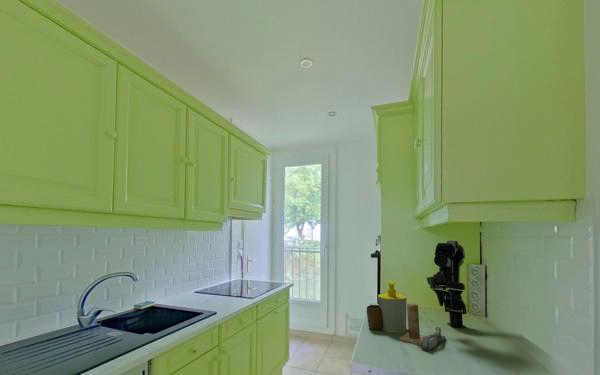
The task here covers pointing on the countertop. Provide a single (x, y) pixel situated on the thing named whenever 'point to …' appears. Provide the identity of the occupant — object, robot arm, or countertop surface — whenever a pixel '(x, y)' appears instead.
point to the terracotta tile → (415, 341)
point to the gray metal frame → (433, 340)
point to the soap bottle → (393, 310)
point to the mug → (374, 317)
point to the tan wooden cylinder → (413, 321)
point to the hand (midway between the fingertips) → (446, 306)
